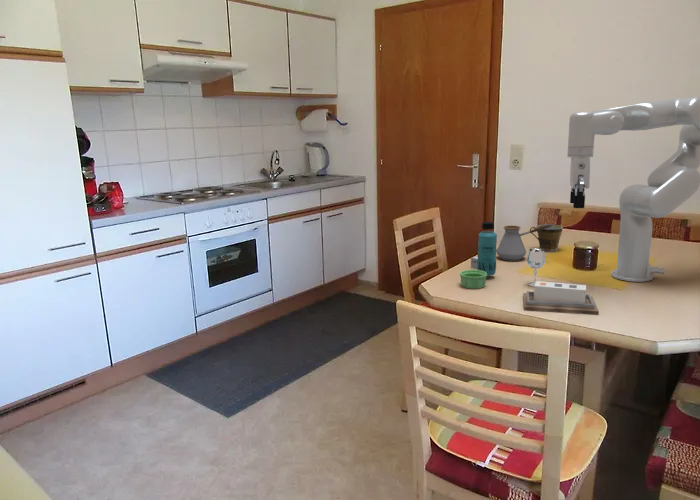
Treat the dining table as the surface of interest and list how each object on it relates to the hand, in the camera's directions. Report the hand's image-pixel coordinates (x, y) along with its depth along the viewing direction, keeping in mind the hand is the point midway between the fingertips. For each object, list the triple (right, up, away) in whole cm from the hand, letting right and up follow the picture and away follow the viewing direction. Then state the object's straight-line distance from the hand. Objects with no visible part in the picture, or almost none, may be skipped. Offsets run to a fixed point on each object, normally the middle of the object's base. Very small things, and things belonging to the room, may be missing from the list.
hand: (576, 205), depth 169 cm
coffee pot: (-5, -19, +37) cm, 41 cm away
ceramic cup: (+9, -14, +51) cm, 53 cm away
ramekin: (-32, -27, +8) cm, 42 cm away
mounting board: (-11, -31, -13) cm, 35 cm away
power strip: (-11, -30, -14) cm, 35 cm away
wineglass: (-12, -26, +6) cm, 29 cm away
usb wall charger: (-24, -21, +29) cm, 43 cm away
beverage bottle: (-25, -24, +16) cm, 39 cm away
